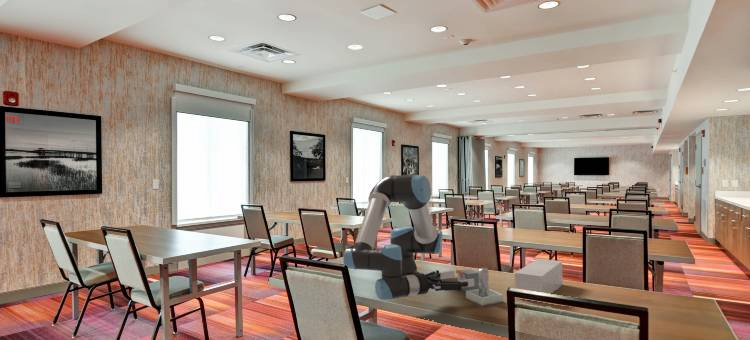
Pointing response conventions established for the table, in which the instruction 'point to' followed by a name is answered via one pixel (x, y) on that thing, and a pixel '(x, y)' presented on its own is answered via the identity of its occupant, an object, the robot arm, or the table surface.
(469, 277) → the crank housing
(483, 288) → the stop pin
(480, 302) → the parts tray
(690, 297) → the table surface
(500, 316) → the table surface
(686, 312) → the table surface
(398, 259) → the robot arm
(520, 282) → the light grey block
